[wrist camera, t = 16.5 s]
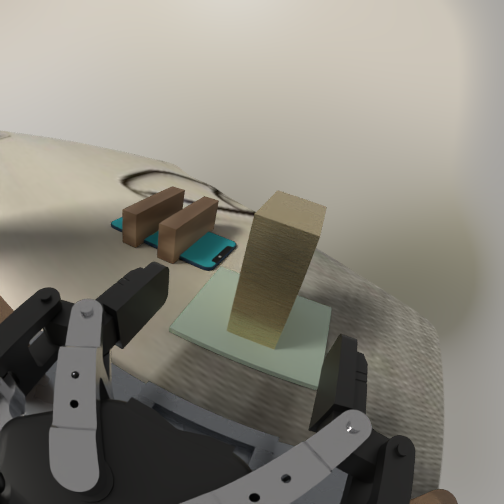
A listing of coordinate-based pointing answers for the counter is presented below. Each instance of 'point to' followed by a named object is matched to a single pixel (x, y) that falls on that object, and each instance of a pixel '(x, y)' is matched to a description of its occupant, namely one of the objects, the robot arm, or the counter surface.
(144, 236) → the phone stand
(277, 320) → the brushed brass block
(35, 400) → the grey slotted base
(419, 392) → the counter surface
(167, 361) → the counter surface
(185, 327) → the pad
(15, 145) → the counter surface
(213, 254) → the smartphone
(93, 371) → the robot arm
